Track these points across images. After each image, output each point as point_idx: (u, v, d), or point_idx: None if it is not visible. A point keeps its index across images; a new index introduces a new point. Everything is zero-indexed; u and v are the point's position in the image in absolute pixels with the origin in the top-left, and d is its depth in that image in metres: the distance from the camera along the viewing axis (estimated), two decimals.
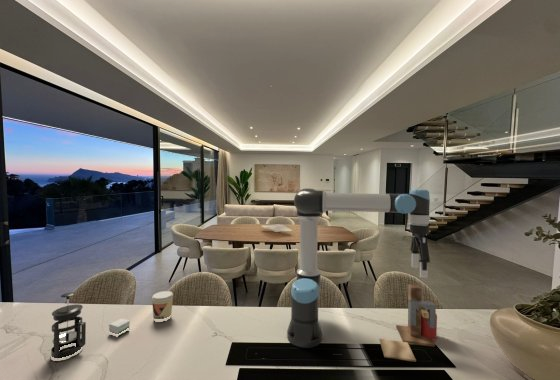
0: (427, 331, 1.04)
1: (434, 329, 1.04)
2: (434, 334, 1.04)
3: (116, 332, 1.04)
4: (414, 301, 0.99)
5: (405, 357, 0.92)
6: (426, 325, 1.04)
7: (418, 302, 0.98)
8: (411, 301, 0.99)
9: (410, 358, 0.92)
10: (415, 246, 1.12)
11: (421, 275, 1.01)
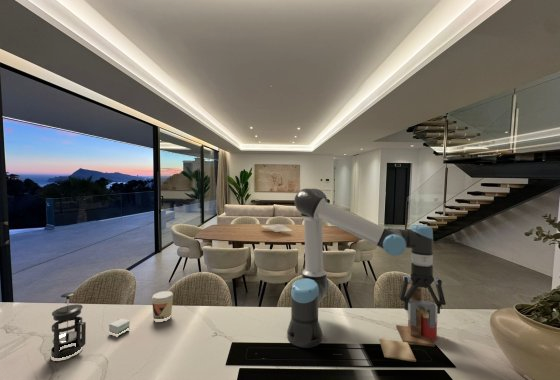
0: (427, 331, 1.04)
1: (434, 329, 1.04)
2: (434, 334, 1.04)
3: (116, 332, 1.04)
4: (414, 301, 0.99)
5: (405, 357, 0.92)
6: (426, 325, 1.04)
7: (418, 302, 0.98)
8: (411, 301, 0.99)
9: (410, 358, 0.92)
10: None
11: (406, 314, 1.00)
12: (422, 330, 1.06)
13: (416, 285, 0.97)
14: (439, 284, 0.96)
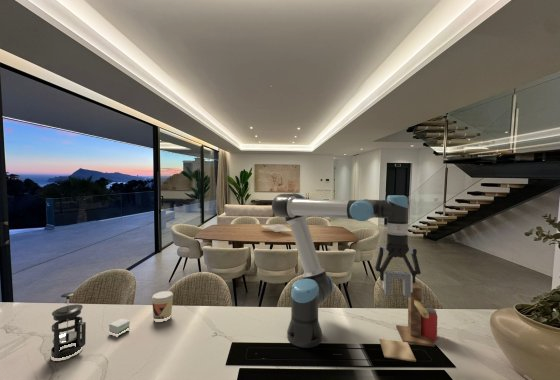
0: (427, 331, 1.04)
1: (434, 329, 1.04)
2: (434, 334, 1.04)
3: (116, 332, 1.04)
4: (390, 271, 0.98)
5: (405, 357, 0.92)
6: (426, 325, 1.04)
7: (393, 272, 0.97)
8: (387, 271, 0.98)
9: (410, 358, 0.92)
10: (405, 261, 0.97)
11: None
12: (422, 330, 1.06)
13: (391, 255, 0.97)
14: (414, 253, 0.95)
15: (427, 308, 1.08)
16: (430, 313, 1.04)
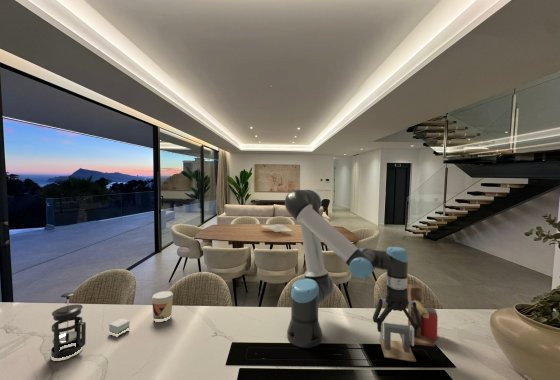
0: (428, 331, 1.04)
1: (435, 329, 1.04)
2: (435, 334, 1.04)
3: (116, 332, 1.04)
4: (389, 325, 0.98)
5: (405, 357, 0.92)
6: (427, 325, 1.04)
7: (393, 326, 0.97)
8: (386, 325, 0.98)
9: (410, 358, 0.92)
10: None
11: (380, 336, 1.00)
12: (423, 330, 1.06)
13: (390, 308, 0.96)
14: (414, 307, 0.95)
15: (427, 308, 1.08)
16: (431, 313, 1.04)
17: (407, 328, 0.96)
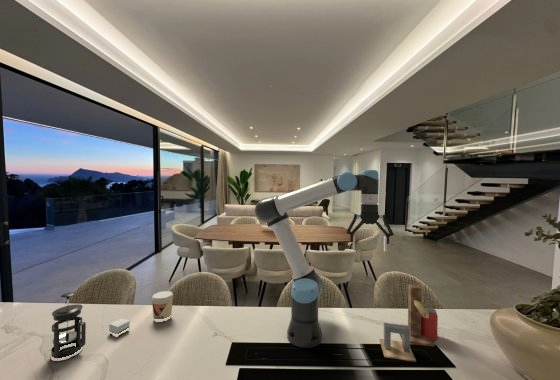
0: (429, 332, 1.04)
1: (435, 329, 1.04)
2: (436, 334, 1.04)
3: (116, 332, 1.04)
4: (389, 325, 0.98)
5: (405, 357, 0.92)
6: (428, 326, 1.04)
7: (393, 326, 0.97)
8: (386, 325, 0.98)
9: (410, 358, 0.92)
10: None
11: None
12: (424, 331, 1.05)
13: (363, 221, 1.10)
14: (384, 219, 1.09)
15: (427, 308, 1.08)
16: (431, 313, 1.04)
17: (407, 328, 0.96)
